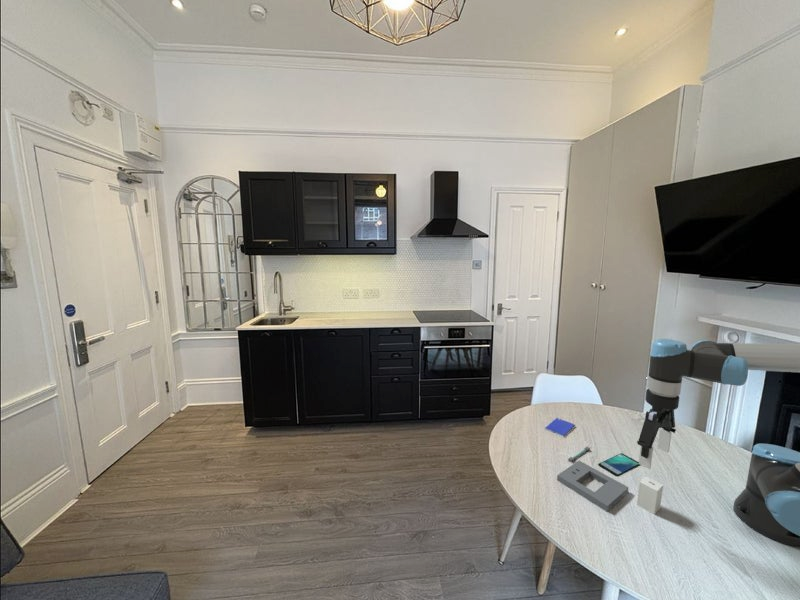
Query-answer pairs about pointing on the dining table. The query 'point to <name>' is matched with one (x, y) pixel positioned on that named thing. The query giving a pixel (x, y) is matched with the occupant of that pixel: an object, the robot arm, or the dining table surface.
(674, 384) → the robot arm
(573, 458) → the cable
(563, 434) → the hard drive
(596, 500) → the outlet plate
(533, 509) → the dining table surface
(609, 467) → the smartphone
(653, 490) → the charger
